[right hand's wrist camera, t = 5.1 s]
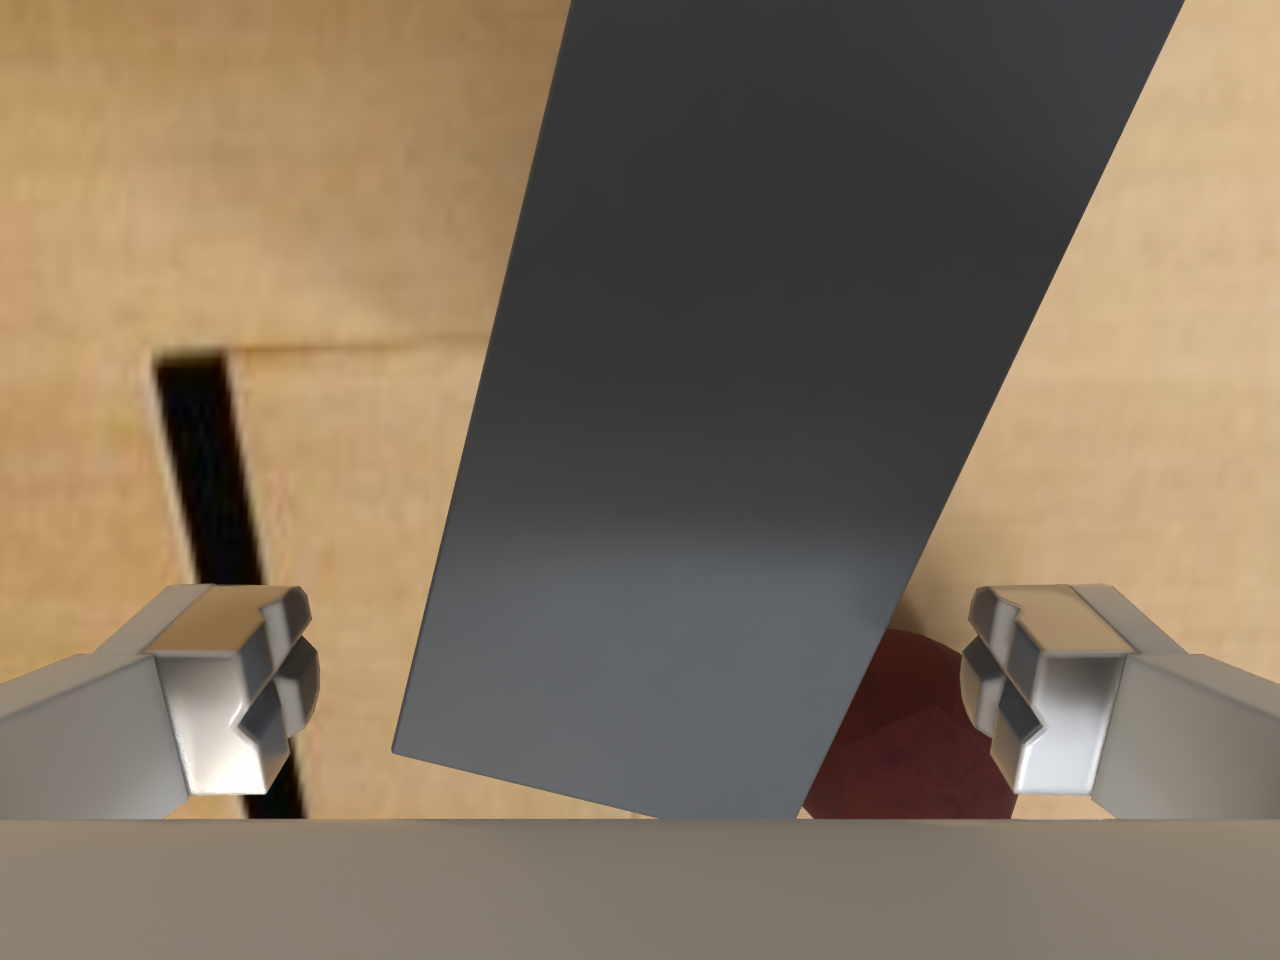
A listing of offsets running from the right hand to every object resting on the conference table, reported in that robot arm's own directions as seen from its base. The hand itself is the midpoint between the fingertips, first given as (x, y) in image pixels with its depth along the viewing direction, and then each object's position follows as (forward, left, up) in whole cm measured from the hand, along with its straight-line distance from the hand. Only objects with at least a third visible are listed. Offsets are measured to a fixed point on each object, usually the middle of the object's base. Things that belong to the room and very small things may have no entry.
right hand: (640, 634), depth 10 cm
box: (+5, +5, -12) cm, 14 cm away
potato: (+2, -15, -17) cm, 23 cm away
